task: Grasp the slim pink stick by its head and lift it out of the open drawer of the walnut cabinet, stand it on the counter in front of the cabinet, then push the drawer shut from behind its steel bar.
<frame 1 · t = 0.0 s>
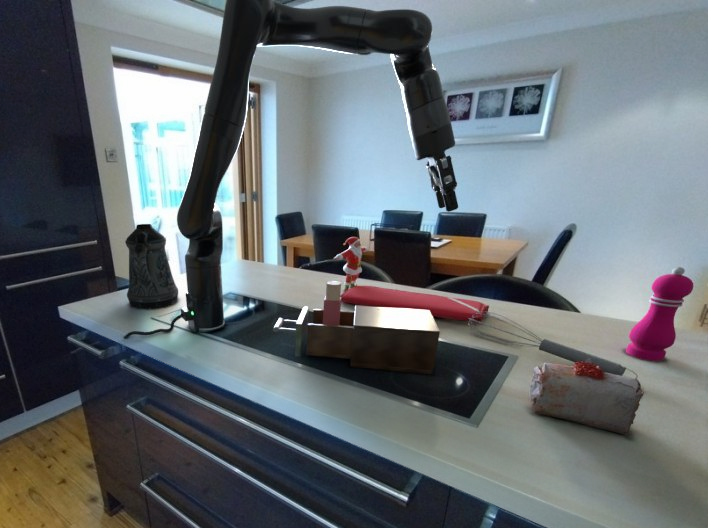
hand: (448, 208, 83), 31 cm above the table, tool tilted 20°, fingers open, 8 cm apart
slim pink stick: (329, 343, 91), point 2 cm above the table, touching drawer
santa figurine: (350, 290, 140), on the table
cabinet: (388, 357, 88), on the table
pepper mill: (643, 356, 87), on the table
kitchen whisk: (537, 353, 90), on the table
drawer: (320, 331, 90), point 5 cm above the table, slide at 11.0 cm, touching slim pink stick
beer stein: (155, 303, 129), on the table
food item: (572, 416, 66), on the table
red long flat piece: (409, 308, 121), on the table
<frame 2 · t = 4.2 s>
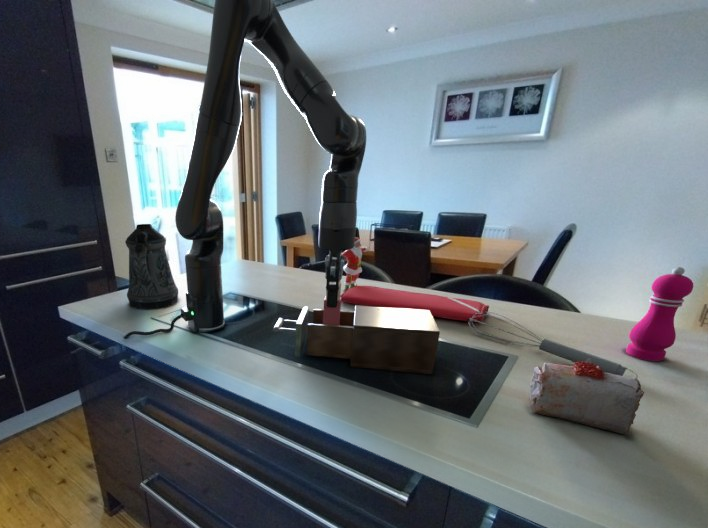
hand: (332, 304, 87), 12 cm above the table, tool pointing down, fingers closed on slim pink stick, 3 cm apart
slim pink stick: (329, 343, 91), point 2 cm above the table, touching drawer, gripper
everything else where it was.
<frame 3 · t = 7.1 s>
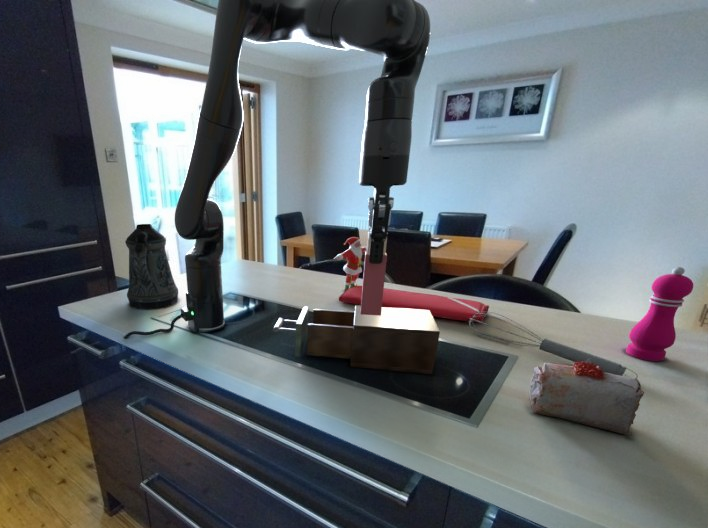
hand: (375, 260, 69), 24 cm above the table, tool pointing down, fingers closed on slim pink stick, 3 cm apart
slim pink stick: (370, 312, 73), point 15 cm above the table, touching gripper
drawer: (320, 331, 90), point 5 cm above the table, slide at 11.0 cm
everything else where it was.
when the fingers open (10 cm above the table, at t = 9.9 s): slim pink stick stays where it is, on the table.
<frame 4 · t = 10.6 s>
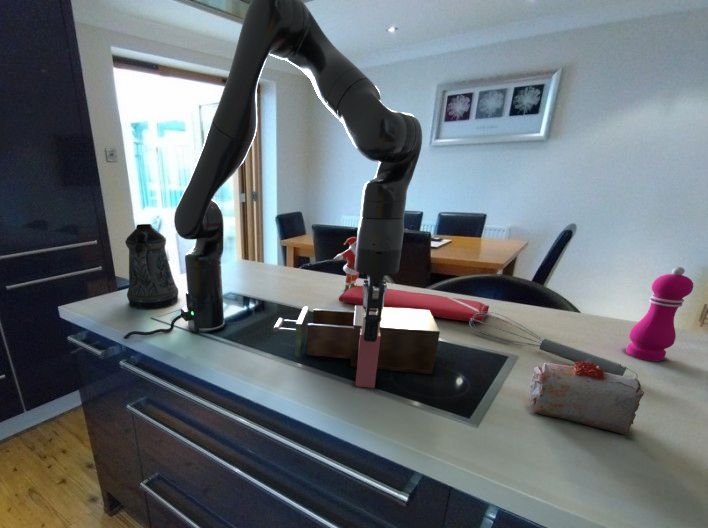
hand: (369, 332, 73), 11 cm above the table, tool pointing down, fingers open, 8 cm apart
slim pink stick: (364, 383, 77), on the table
everything else where it was.
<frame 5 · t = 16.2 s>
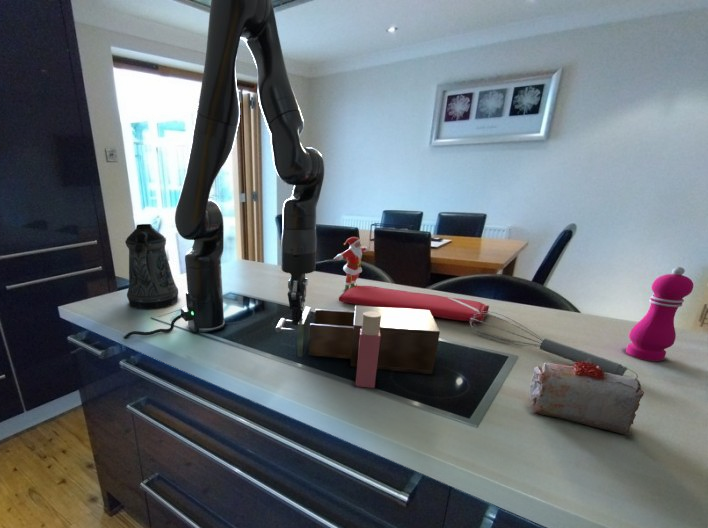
hand: (297, 324, 91), 6 cm above the table, tool pointing down, fingers closed
drawer: (322, 332, 90), point 5 cm above the table, slide at 10.5 cm, touching gripper
everything else where it was.
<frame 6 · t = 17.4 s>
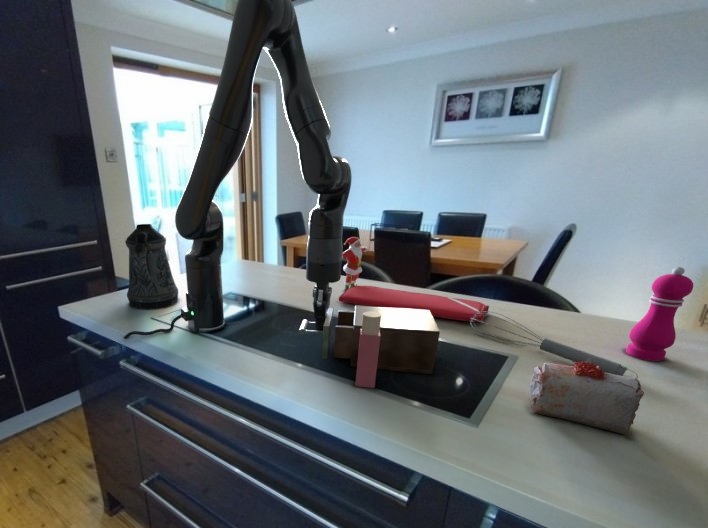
hand: (320, 332, 90), 5 cm above the table, tool pointing down, fingers closed
drawer: (346, 334, 89), point 5 cm above the table, slide at 5.0 cm, touching gripper
everything else where it was.
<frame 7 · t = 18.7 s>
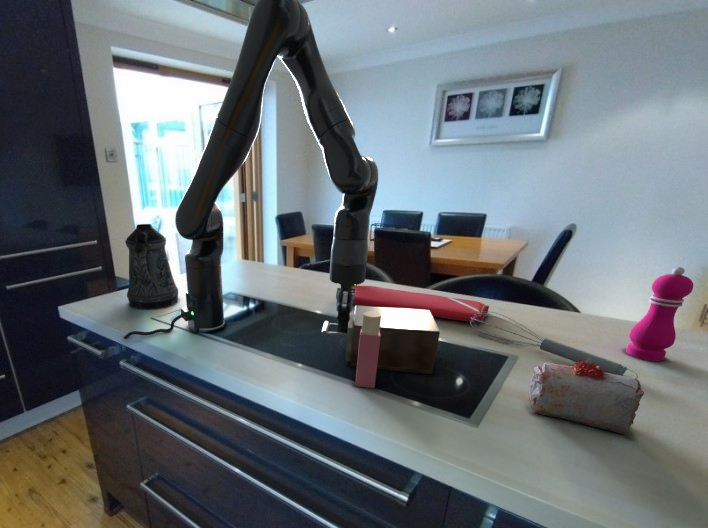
hand: (342, 334, 89), 5 cm above the table, tool pointing down, fingers closed
drawer: (369, 335, 87), point 5 cm above the table, slide at 0.0 cm, touching cabinet, gripper
everything else where it was.
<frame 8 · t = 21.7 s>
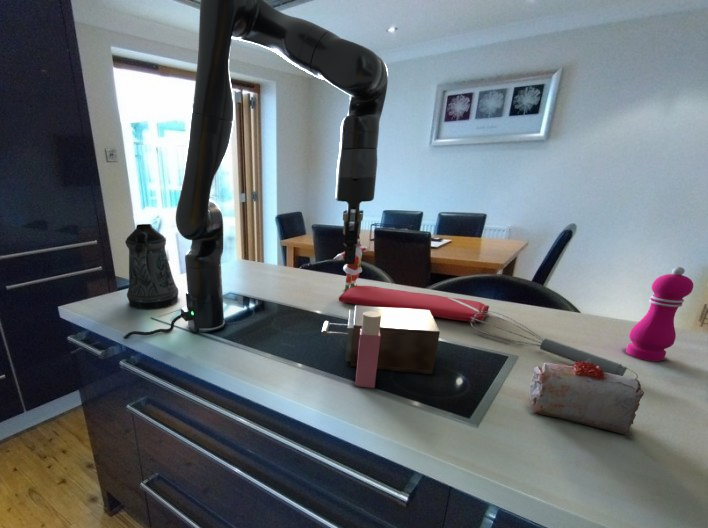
hand: (349, 263, 83), 21 cm above the table, tool pointing down, fingers closed
drawer: (369, 335, 87), point 5 cm above the table, slide at 0.0 cm, touching cabinet
everything else where it was.
at the end: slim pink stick inside the target area (0.1 cm from its centre), on the table; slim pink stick tilted 0°; drawer slide at 0.0 cm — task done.
